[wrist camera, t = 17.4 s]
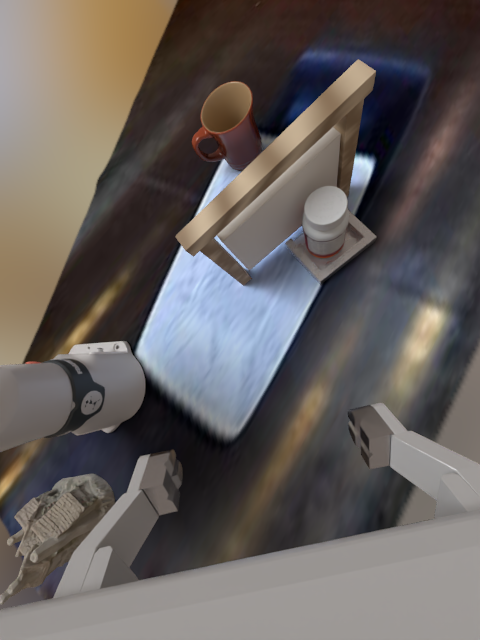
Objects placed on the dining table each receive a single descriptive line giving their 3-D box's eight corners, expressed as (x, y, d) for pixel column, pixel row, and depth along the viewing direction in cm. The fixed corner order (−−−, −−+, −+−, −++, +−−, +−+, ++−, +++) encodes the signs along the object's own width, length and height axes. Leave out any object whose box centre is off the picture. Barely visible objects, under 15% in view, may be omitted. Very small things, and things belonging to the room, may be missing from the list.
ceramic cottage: (123, 504, 48) (35, 566, 34) (85, 564, 50) (-13, 644, 36) (83, 445, 54) (-6, 478, 40) (51, 501, 56) (-44, 549, 42)
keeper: (320, 284, 41) (320, 281, 39) (286, 247, 43) (285, 243, 41) (374, 242, 39) (376, 236, 37) (335, 205, 41) (336, 199, 40)
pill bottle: (312, 221, 42) (309, 178, 31) (350, 228, 40) (359, 184, 29) (300, 255, 42) (292, 223, 31) (337, 264, 40) (342, 232, 29)
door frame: (239, 289, 45) (185, 250, 28) (232, 279, 46) (175, 236, 28) (353, 192, 41) (376, 71, 23) (343, 183, 41) (358, 59, 24)
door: (249, 270, 42) (222, 242, 31) (238, 257, 43) (209, 225, 32) (335, 195, 39) (340, 133, 28) (322, 183, 40) (322, 118, 29)
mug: (255, 125, 48) (237, 69, 39) (275, 157, 46) (261, 106, 36) (205, 163, 51) (177, 120, 41) (221, 195, 49) (196, 157, 39)
